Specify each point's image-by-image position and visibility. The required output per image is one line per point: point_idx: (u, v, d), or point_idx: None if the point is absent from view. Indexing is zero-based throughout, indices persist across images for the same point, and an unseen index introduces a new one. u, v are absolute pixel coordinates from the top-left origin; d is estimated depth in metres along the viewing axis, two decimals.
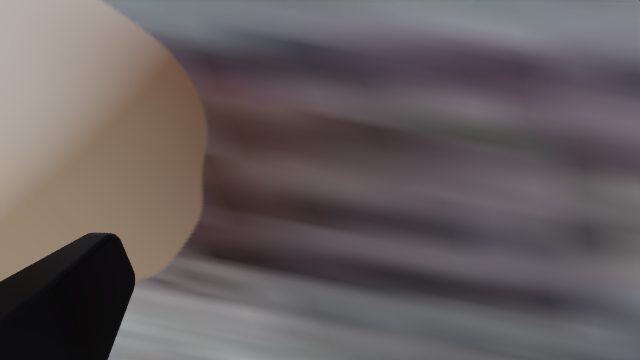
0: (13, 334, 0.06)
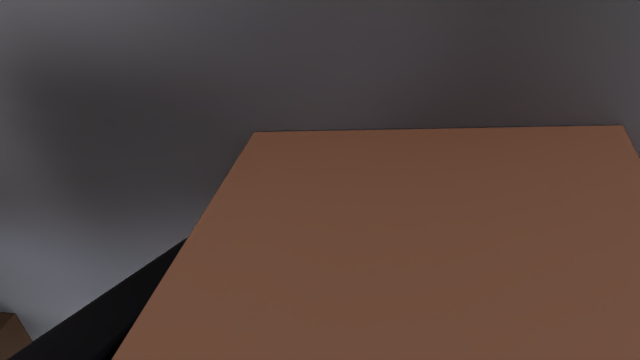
0: None
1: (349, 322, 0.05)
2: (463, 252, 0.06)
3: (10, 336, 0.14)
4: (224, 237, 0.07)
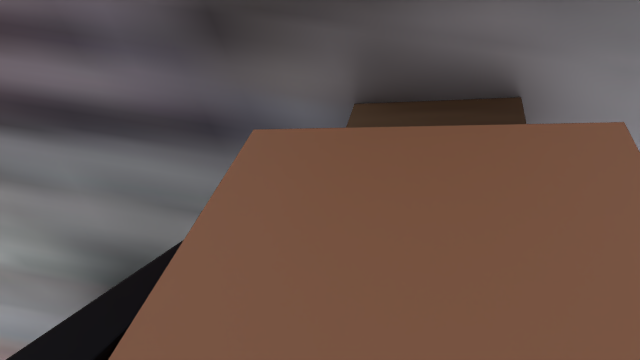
0: None
1: (348, 319, 0.05)
2: (465, 250, 0.06)
3: None
4: (224, 234, 0.07)
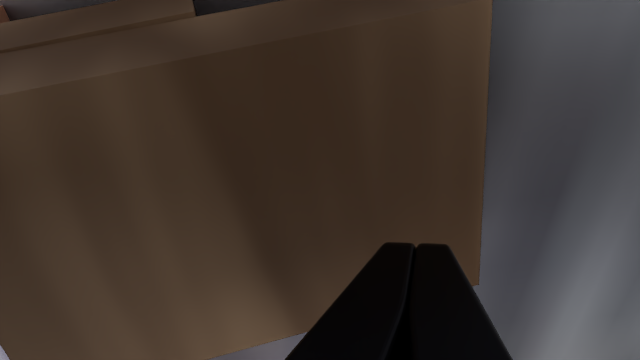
0: None
1: None
2: None
3: None
4: None
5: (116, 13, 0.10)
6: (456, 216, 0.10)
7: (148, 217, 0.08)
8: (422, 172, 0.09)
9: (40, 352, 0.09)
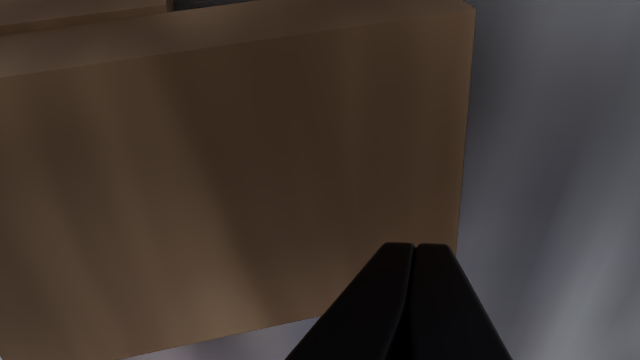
0: None
1: None
2: None
3: None
4: None
5: (90, 0, 0.10)
6: (433, 220, 0.10)
7: (128, 204, 0.08)
8: (400, 175, 0.09)
9: (18, 330, 0.09)
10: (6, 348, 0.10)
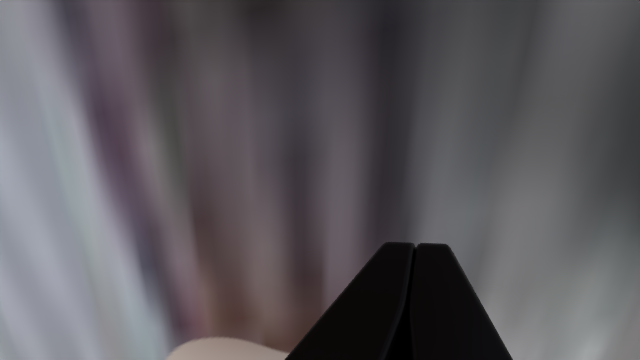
0: None
1: None
2: None
3: None
4: None
5: None
6: None
7: None
8: None
9: None
10: None
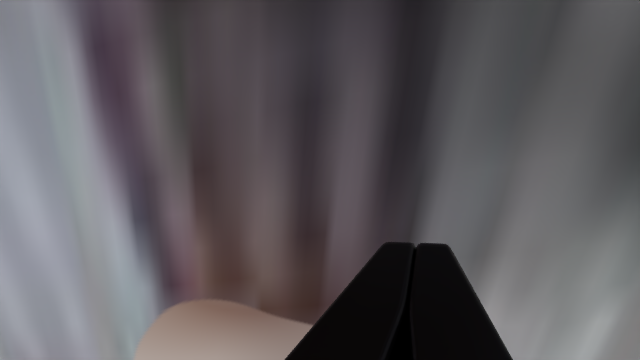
0: None
1: None
2: None
3: None
4: None
5: None
6: None
7: None
8: None
9: None
10: None
